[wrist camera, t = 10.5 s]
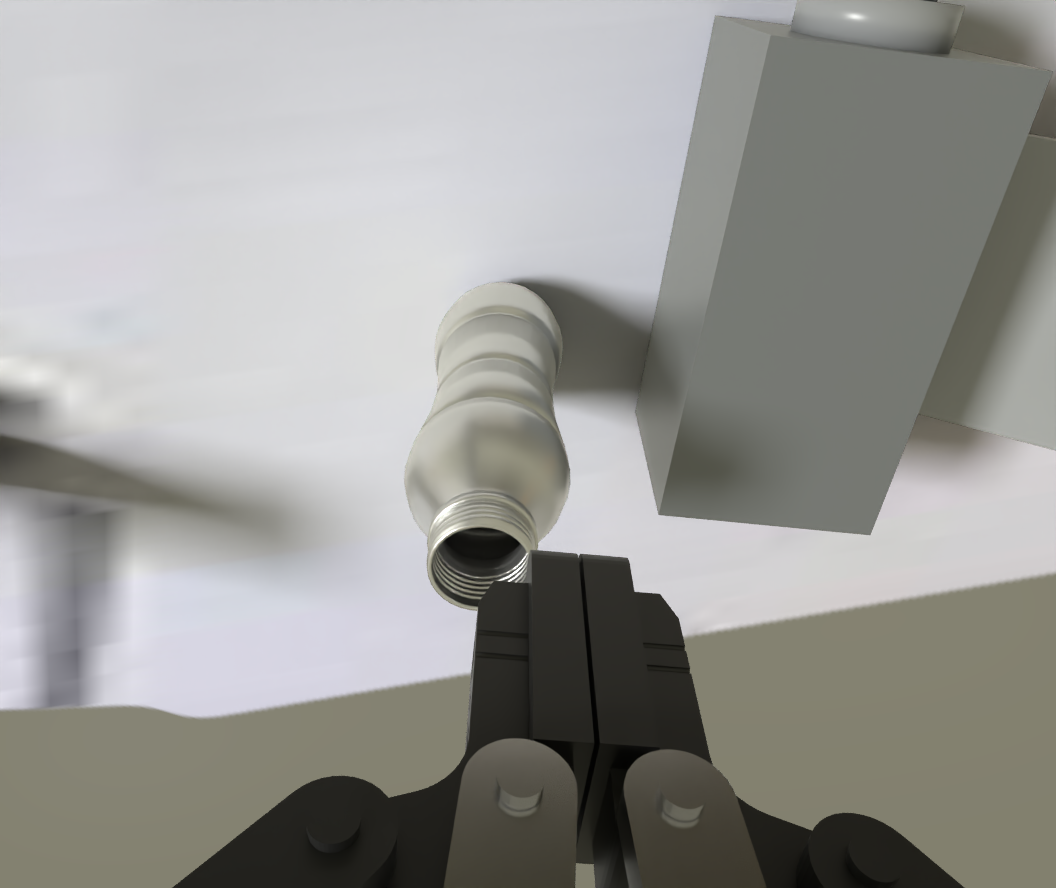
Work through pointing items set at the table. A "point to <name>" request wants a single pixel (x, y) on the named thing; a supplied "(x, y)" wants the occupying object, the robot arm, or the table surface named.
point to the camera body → (821, 256)
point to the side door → (1008, 317)
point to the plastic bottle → (489, 443)
